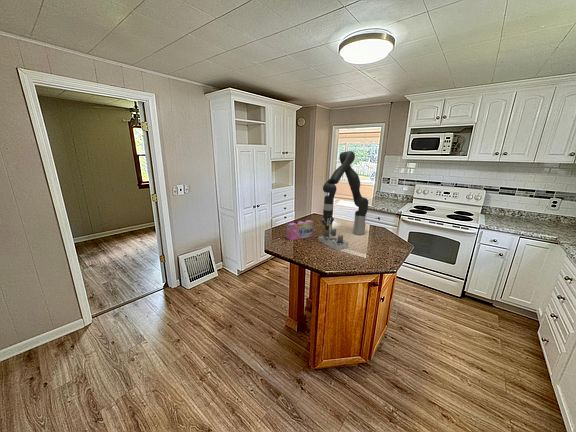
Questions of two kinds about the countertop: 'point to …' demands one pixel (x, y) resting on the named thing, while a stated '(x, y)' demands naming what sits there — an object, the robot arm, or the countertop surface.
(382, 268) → the countertop surface
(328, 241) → the mount plate
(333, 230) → the knob mid
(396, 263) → the countertop surface
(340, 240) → the knob
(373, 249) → the countertop surface
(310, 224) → the gum box
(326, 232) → the knob
